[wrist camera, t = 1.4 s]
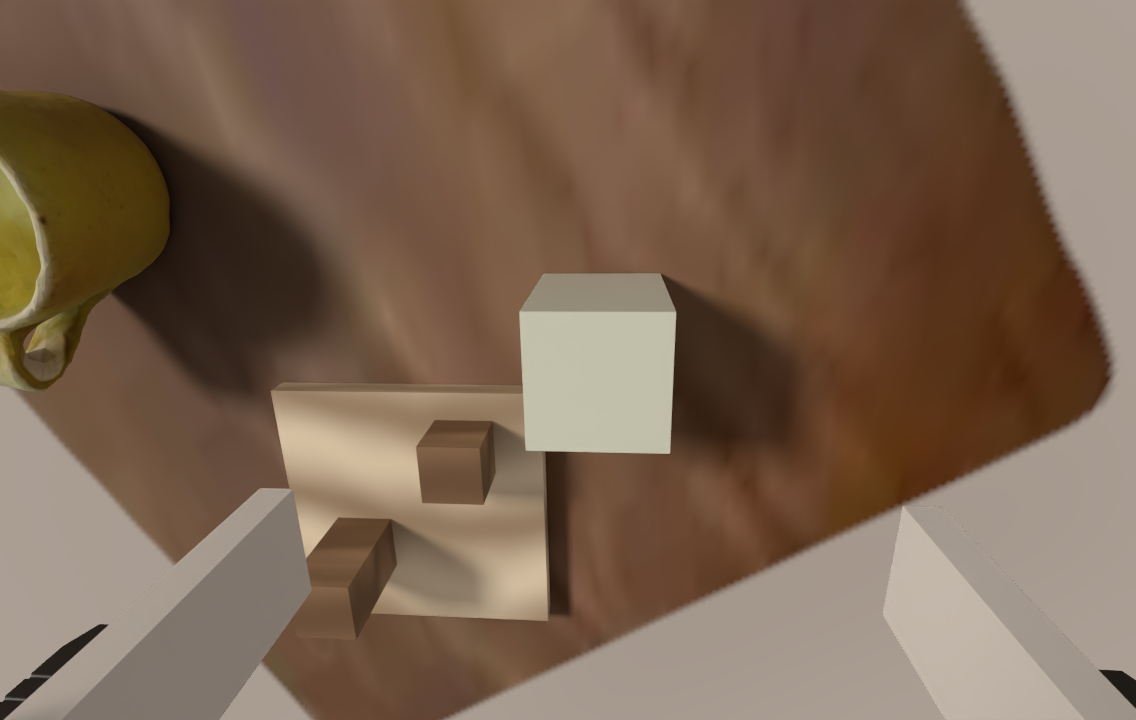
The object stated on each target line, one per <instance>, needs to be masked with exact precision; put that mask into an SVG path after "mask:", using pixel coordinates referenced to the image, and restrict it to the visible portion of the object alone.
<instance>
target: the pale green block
mask: <svg viewBox="0 0 1136 720" xmlns="http://www.w3.org/2000/svg"><path fill="white" fill-rule="evenodd" d="M519 313H520V335H521V358H522V380H523V403H524V425H525V448H526V451H564V452H613V453H661V454H670V442H671V419H672V396H673V373H674V350H675V328H676V310H675V308H674V305H673V303H672V301H671V298H670V296H669V293H668V291H667V288H666V286H665V284H664V281H663V279H662V276H661V274H660V273H631V274H543V276H542V277H541V279H540V280H539V282H538V283H537V285H536V286H535V288H534V290H533V291H532V293H531V294H530V296H529V297H528V299H527V301H526V302H525V304H524V305H523V307H522V308H521V310H520V311H519Z"/></svg>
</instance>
